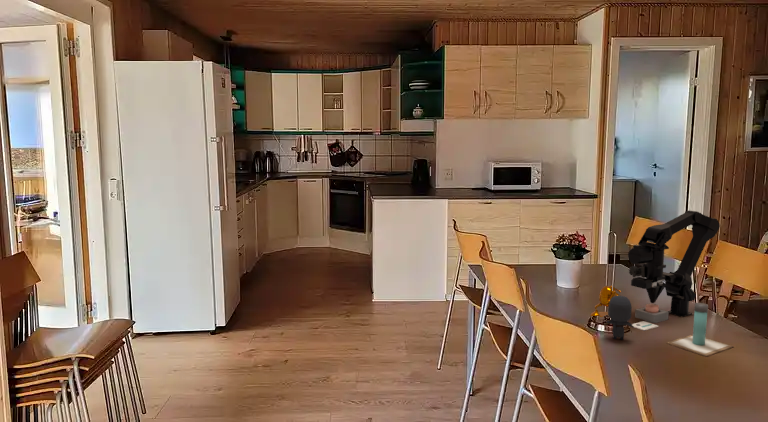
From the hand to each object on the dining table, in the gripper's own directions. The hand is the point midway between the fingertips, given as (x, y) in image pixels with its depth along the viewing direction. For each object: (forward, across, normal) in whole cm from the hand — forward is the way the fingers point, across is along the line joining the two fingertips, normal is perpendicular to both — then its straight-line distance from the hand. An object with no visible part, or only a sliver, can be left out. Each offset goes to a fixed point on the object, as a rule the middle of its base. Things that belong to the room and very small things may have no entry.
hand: (652, 302), depth 210 cm
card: (+6, +10, +4) cm, 12 cm away
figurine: (+6, +13, -10) cm, 18 cm away
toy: (+6, +29, +8) cm, 31 cm away
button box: (+6, 0, 0) cm, 6 cm away
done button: (+4, 0, 0) cm, 4 cm away
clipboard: (+6, +11, +25) cm, 28 cm away
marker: (+5, +11, +24) cm, 27 cm away
